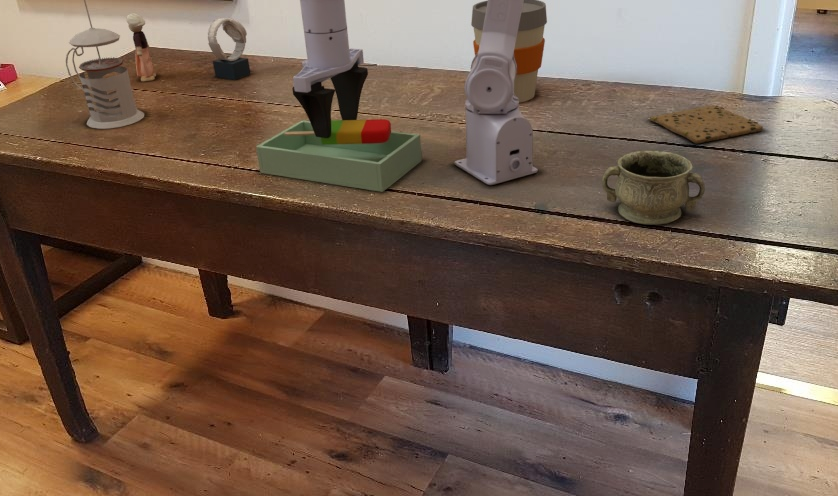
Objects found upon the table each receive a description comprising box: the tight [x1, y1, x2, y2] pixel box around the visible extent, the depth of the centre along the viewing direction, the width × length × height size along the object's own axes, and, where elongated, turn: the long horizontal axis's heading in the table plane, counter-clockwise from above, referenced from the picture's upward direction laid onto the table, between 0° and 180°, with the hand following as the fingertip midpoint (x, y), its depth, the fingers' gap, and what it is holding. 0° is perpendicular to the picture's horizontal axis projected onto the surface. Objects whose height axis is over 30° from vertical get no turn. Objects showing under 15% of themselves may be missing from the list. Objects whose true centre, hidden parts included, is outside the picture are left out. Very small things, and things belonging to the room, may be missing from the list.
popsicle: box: [284, 118, 392, 145], centre depth 112 cm, size 6×15×2 cm, turn 86°
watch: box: [207, 17, 252, 81], centre depth 157 cm, size 6×8×11 cm
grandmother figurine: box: [126, 12, 157, 82], centre depth 158 cm, size 8×4×13 cm, turn 17°
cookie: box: [649, 104, 764, 144], centre depth 121 cm, size 12×12×1 cm
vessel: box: [601, 150, 706, 226], centre depth 96 cm, size 12×9×6 cm
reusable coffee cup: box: [470, 0, 548, 103], centre depth 135 cm, size 13×13×15 cm
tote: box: [255, 119, 423, 193], centre depth 114 cm, size 20×12×4 cm, turn 63°
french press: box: [65, 0, 145, 129], centre depth 134 cm, size 10×12×25 cm
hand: (336, 128), depth 112 cm, fingers closed on popsicle, 6 cm apart
